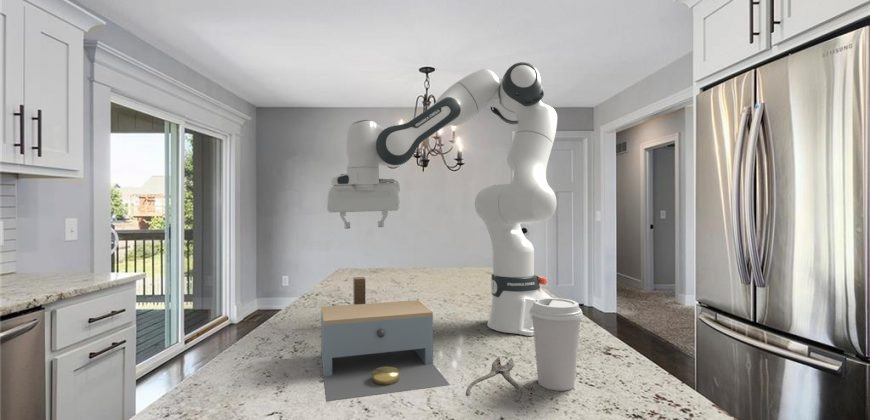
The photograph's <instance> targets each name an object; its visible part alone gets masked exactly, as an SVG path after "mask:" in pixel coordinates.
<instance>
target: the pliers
mask: <svg viewBox="0 0 870 420" xmlns="http://www.w3.org/2000/svg"><path fill="white" fill-rule="evenodd" d="M513 368H515V362H514V360H513V357H510V359H508V361H507V362H506V364H503V365H502V364H501V357H500V356H498V357H497V358H496V359H495V360H494V361H493V362H492V369H491V371H490V372H489V373H487V374H486V375H482V376H481V377H478V378H476V379H474V380H473V381H472V382H471V383H470V384H469V385H468V386H467V388H466V392H465V394H466V396H467V397H469V396H470V395H471V390H472V388H473V387H474V386H475V385H476V384H478V383H480V382H482V381H485V380H487V379H490V378H493V377H495V376H497V375H498V374H502V376H503V377H504V378H505V379H506V380H507V381H508V382H509V383H510V384H511V385H512V386H514V388H515V389H516V391H517V393H516V396H515V399H514V402H515V403H516V402H519V401H520V399H521V398H522V388H521V386H520V385H519V383H518V382H517V381H515V380H514V378H512V376H511V373H510V372H511V371H512V369H513Z"/></svg>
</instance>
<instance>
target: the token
mask: <svg viewBox="0 0 870 420" xmlns="http://www.w3.org/2000/svg"><path fill="white" fill-rule="evenodd" d="M398 381H399V370H398V369H397V368H394V367H380V368H376V369H375V370H373V372H372V382H373V383H374V384H376V385H381V386H387V385H393V384H395V383H397V382H398Z"/></svg>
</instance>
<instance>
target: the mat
mask: <svg viewBox="0 0 870 420" xmlns="http://www.w3.org/2000/svg"><path fill="white" fill-rule="evenodd" d="M380 367H394V368H397V369H398V370H399V381H398V382H397V383H395V384H393V385H387V386H381V385H376V384H374V383H373V382H372V372H373V370H375V369H376V368H380ZM323 381H324V390H325V391H324V392H325V401H326V402H333V401H341V400H348V399H355V398H364V397H371V396H378V395H379V396H380V395H386V394H392V393H393V394H394V393H401V392H408V391H410V392H411V391H415V390H422V389H423V390H424V389H431V388H439V387H446V386H447V387H448V386H450V385H451V383H449V380H447V378H445V376H444V375H443V374H442V373H441V372H440V371H439V369H438V368H437V367H436V366H435V364H434V363H433V364H425V363H424V362H423V361H422V359H421V358H420V357H419V355H418V354H417V353H416V351H415V350H414V349H412V350H403V351H393V352H383V353H374V354H364V355H354V356H345V357H335V358H332V375H330V376H324V375H323Z"/></svg>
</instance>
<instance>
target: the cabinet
mask: <svg viewBox="0 0 870 420" xmlns="http://www.w3.org/2000/svg"><path fill="white" fill-rule="evenodd" d="M320 310H321V311H320V313H321V315H320V316H321V317H320V325H321V327H320V329H321V331H320V334H321V335H320V336H321V343H320V345H321V346H320V347H321V349H320V350H321V351H320V354H321V364H322V372H323V377H324V376H330V375H332V358H335V357H345V356H354V355H364V354H374V353H383V352H393V351H403V350H412V349H414V350H415V351H416V353H417V354H418V355H419V357H420V358H421V359H422V361H423V362H424V363H425V364H434V342H433V341H434V327H433V326H434V320H433V319H434V315H433V313H434V312H433V311H432V310H430V309H429V308H428V307H427V306H426V305H425V304H423V303H422V302H421V301H419V300H418V299H415V300H403V301H402V300H401V301H389V302H373V303H371V302H370V303H365V304H357V305H353V304H346V305H345V304H344V305H333V306H331V305H330V306H328V305H327V306H320Z"/></svg>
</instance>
